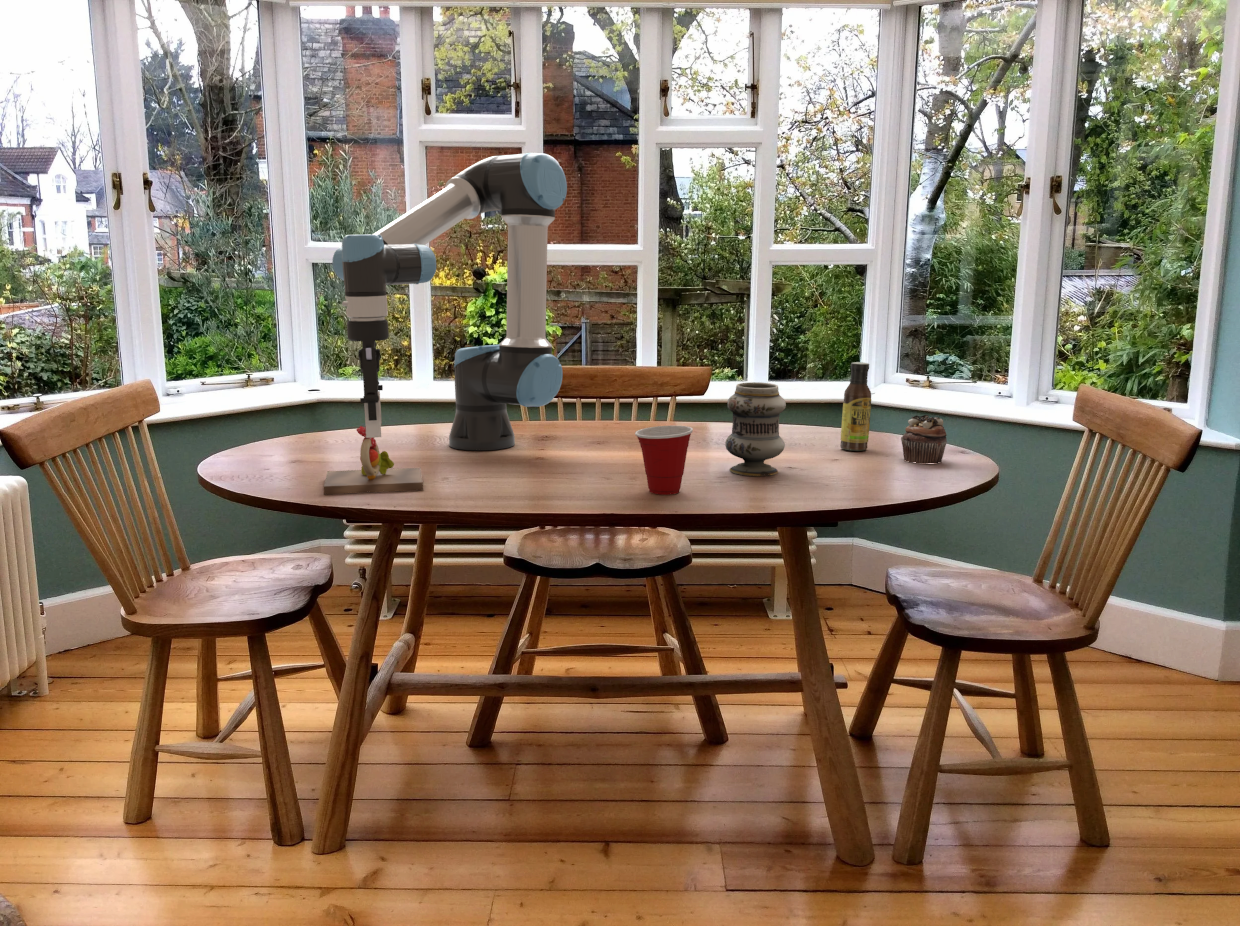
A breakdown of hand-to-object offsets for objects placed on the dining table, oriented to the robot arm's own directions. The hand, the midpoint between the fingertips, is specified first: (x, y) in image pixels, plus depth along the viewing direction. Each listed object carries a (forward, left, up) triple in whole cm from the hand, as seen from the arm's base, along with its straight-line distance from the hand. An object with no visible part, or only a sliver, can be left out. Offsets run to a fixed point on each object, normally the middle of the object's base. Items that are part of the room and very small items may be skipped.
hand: (374, 430), depth 199 cm
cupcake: (-116, -1, -11) cm, 116 cm away
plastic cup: (-53, +17, -11) cm, 56 cm away
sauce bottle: (-107, -16, -11) cm, 108 cm away
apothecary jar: (-76, +3, -11) cm, 76 cm away
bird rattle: (0, +1, -9) cm, 9 cm away
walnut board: (0, 0, -10) cm, 10 cm away
